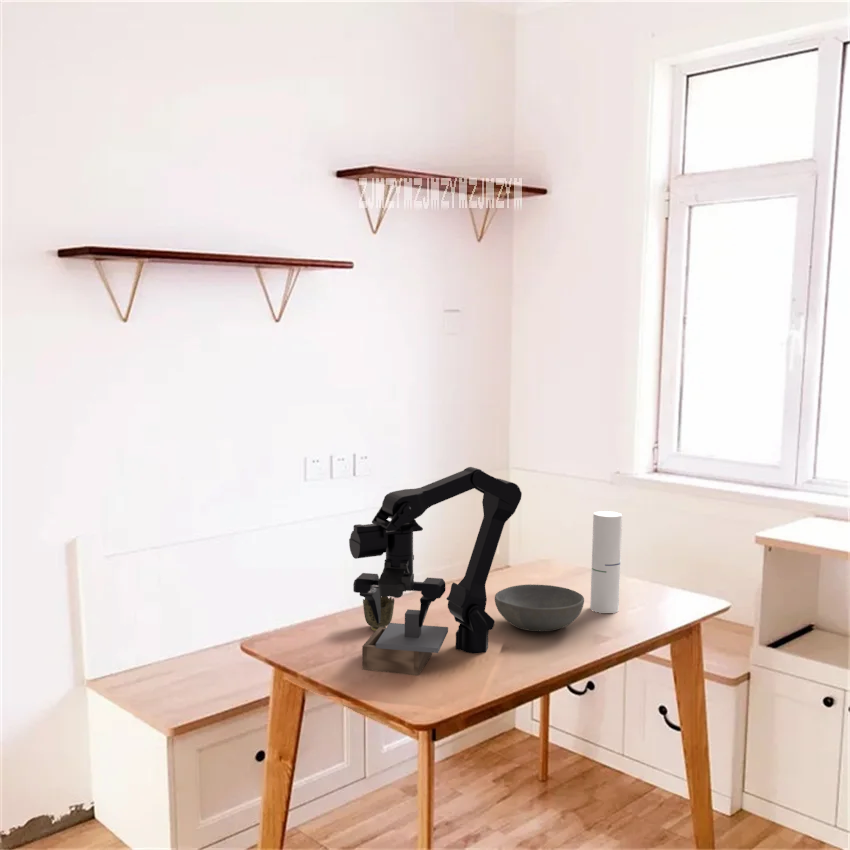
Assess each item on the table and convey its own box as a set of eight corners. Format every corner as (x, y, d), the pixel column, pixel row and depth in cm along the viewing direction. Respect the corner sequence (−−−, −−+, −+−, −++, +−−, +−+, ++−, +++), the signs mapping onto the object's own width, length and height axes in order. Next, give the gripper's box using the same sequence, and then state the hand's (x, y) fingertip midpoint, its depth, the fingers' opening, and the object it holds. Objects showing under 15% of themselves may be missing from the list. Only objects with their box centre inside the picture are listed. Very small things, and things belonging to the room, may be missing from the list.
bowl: (519, 647, 200) (520, 613, 199) (479, 618, 219) (480, 587, 219) (599, 636, 208) (600, 603, 207) (554, 609, 227) (555, 579, 226)
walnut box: (431, 658, 192) (432, 632, 192) (418, 680, 181) (418, 651, 180) (378, 653, 195) (379, 627, 195) (362, 674, 184) (362, 646, 183)
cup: (366, 638, 204) (366, 605, 203) (359, 628, 211) (359, 595, 210) (397, 636, 206) (397, 602, 205) (390, 625, 213) (390, 593, 212)
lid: (448, 631, 192) (448, 604, 192) (438, 653, 180) (438, 624, 179) (389, 627, 195) (389, 600, 194) (375, 648, 182) (375, 619, 181)
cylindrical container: (621, 614, 224) (624, 517, 221) (592, 613, 224) (596, 516, 221) (615, 605, 231) (619, 511, 228) (588, 604, 231) (591, 510, 228)
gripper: (344, 559, 180) (345, 634, 181) (434, 565, 175) (433, 642, 177) (361, 546, 190) (361, 616, 192) (446, 551, 186) (445, 623, 188)
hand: (399, 625), depth 187 cm, fingers open, 9 cm apart
